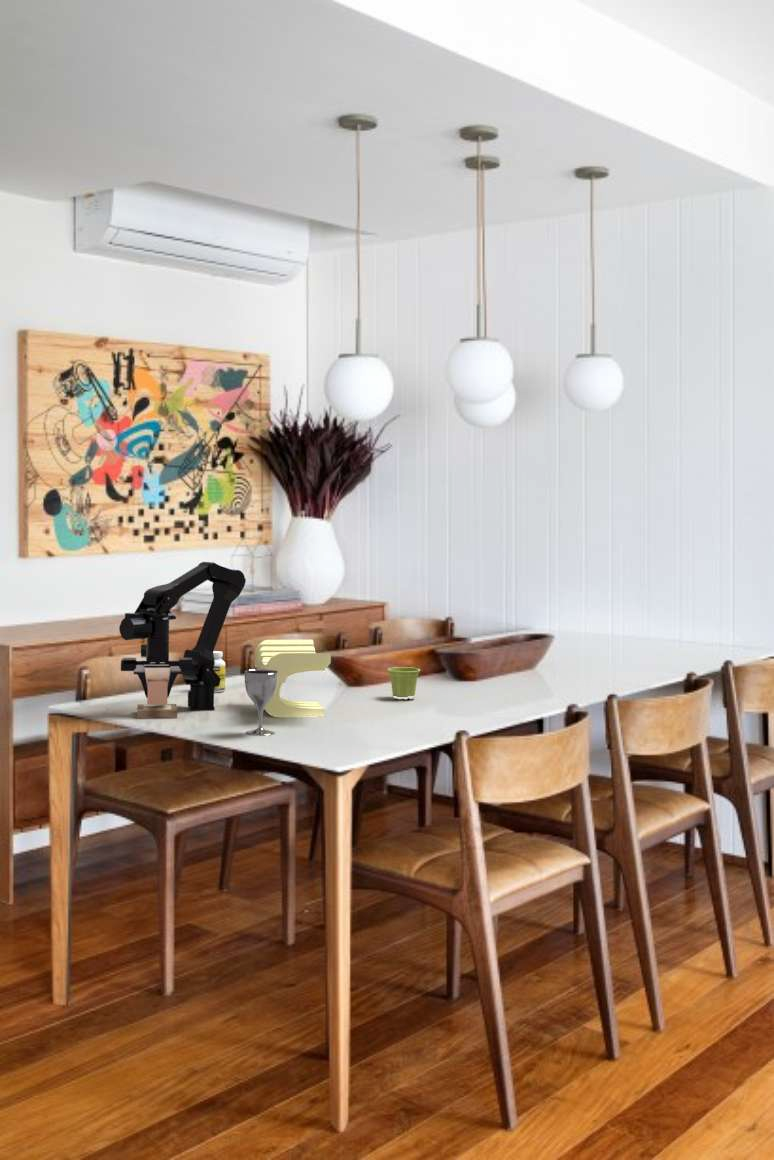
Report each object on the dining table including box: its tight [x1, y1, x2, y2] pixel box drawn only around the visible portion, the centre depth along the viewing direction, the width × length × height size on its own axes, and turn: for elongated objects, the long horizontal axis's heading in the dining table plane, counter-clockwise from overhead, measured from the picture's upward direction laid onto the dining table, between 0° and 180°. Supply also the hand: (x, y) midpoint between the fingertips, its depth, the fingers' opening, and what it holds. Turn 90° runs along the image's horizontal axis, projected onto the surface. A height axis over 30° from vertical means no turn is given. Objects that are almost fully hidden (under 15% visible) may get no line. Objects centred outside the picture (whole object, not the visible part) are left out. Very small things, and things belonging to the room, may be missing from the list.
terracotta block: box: [146, 678, 168, 705], centre depth 335 cm, size 5×5×6 cm
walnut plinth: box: [136, 703, 178, 719], centre depth 336 cm, size 10×10×2 cm
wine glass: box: [244, 668, 278, 737], centre depth 313 cm, size 8×8×15 cm
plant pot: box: [387, 666, 421, 697], centre depth 371 cm, size 9×9×9 cm
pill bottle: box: [213, 650, 226, 694], centre depth 377 cm, size 6×6×12 cm
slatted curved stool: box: [254, 639, 332, 718], centre depth 343 cm, size 30×16×18 cm, turn 12°
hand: (157, 697), depth 336 cm, fingers closed on terracotta block, 5 cm apart
